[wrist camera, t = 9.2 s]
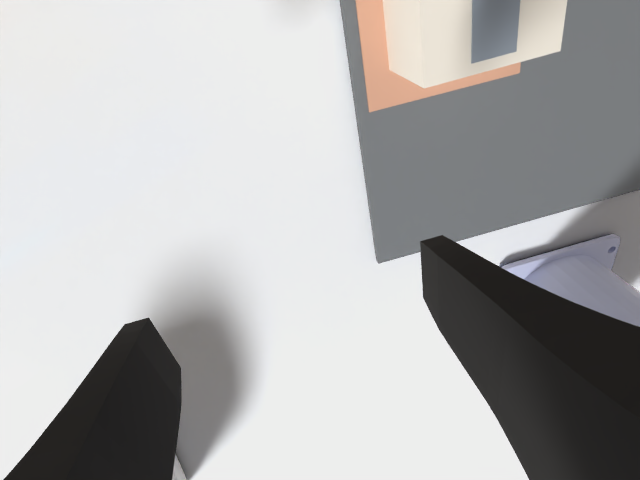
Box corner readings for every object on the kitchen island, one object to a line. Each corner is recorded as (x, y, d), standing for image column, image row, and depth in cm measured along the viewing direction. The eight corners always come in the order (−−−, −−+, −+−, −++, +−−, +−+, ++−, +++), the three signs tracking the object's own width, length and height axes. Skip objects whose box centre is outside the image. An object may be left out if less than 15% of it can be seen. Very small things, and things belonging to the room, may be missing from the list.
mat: (650, 182, 23) (658, 185, 23) (376, 259, 22) (379, 264, 22) (841, -405, 12) (864, -419, 11) (298, -295, 11) (300, -306, 11)
